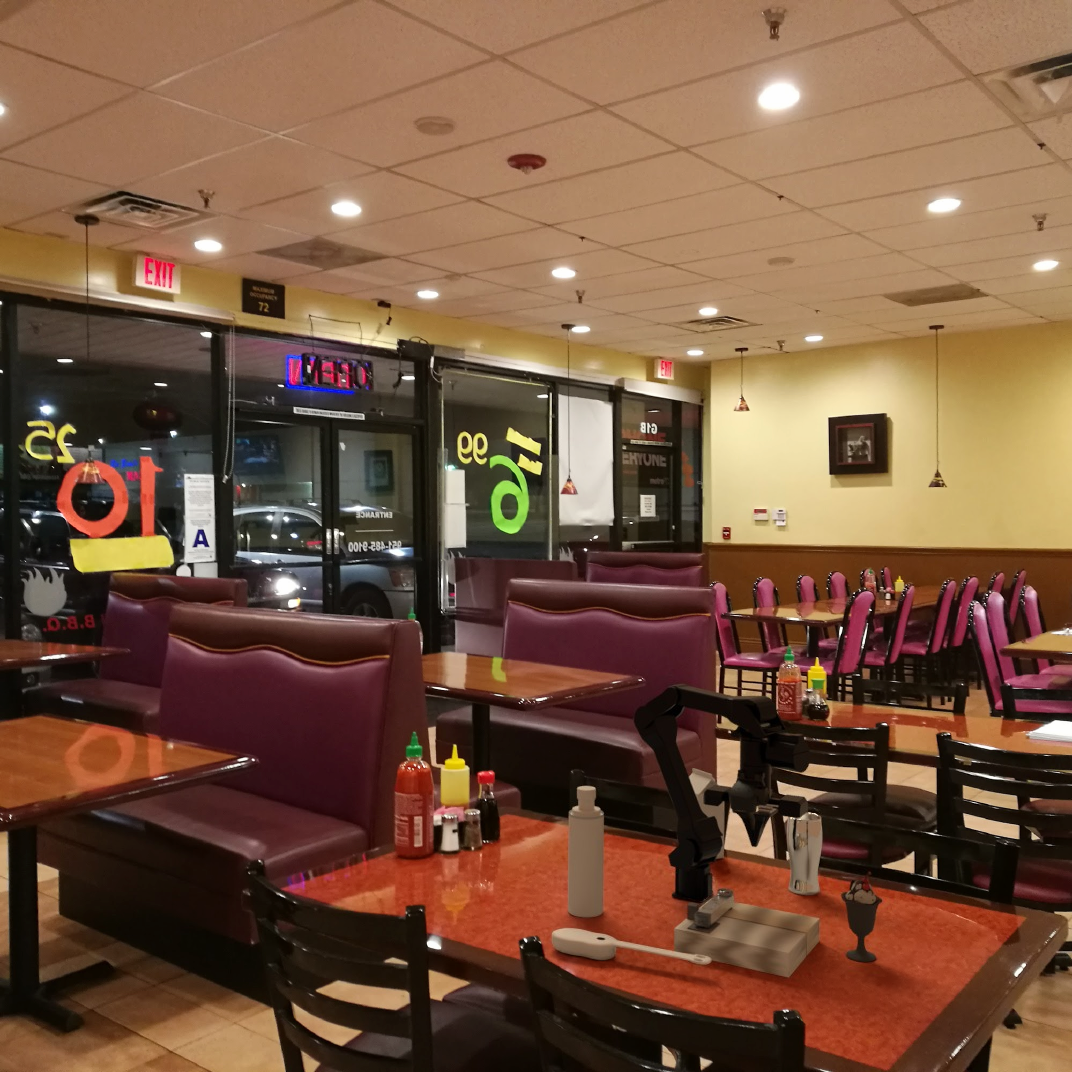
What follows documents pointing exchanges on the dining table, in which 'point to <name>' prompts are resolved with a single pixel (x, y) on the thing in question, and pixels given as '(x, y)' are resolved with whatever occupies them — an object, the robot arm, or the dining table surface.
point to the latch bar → (714, 908)
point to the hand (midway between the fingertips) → (754, 846)
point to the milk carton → (700, 785)
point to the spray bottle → (585, 856)
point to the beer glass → (804, 853)
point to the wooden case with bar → (750, 938)
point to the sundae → (861, 916)
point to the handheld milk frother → (608, 946)
